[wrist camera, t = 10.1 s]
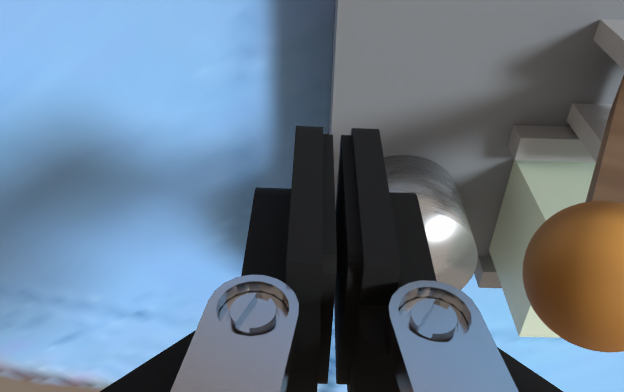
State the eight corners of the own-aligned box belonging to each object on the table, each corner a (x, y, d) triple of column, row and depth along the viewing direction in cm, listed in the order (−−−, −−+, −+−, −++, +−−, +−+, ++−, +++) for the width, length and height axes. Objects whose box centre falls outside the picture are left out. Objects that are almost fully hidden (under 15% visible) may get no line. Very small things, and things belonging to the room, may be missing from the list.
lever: (606, 30, 16) (529, 235, 9) (711, 49, 15) (723, 298, 8) (577, 112, 18) (492, 345, 10) (671, 134, 17) (650, 409, 9)
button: (345, 153, 19) (349, 210, 16) (468, 156, 19) (490, 214, 16) (339, 245, 21) (341, 307, 18) (447, 248, 21) (464, 310, 19)
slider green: (514, 158, 19) (554, 239, 15) (637, 161, 19) (703, 243, 15) (488, 249, 21) (518, 336, 18) (597, 252, 21) (647, 339, 18)
